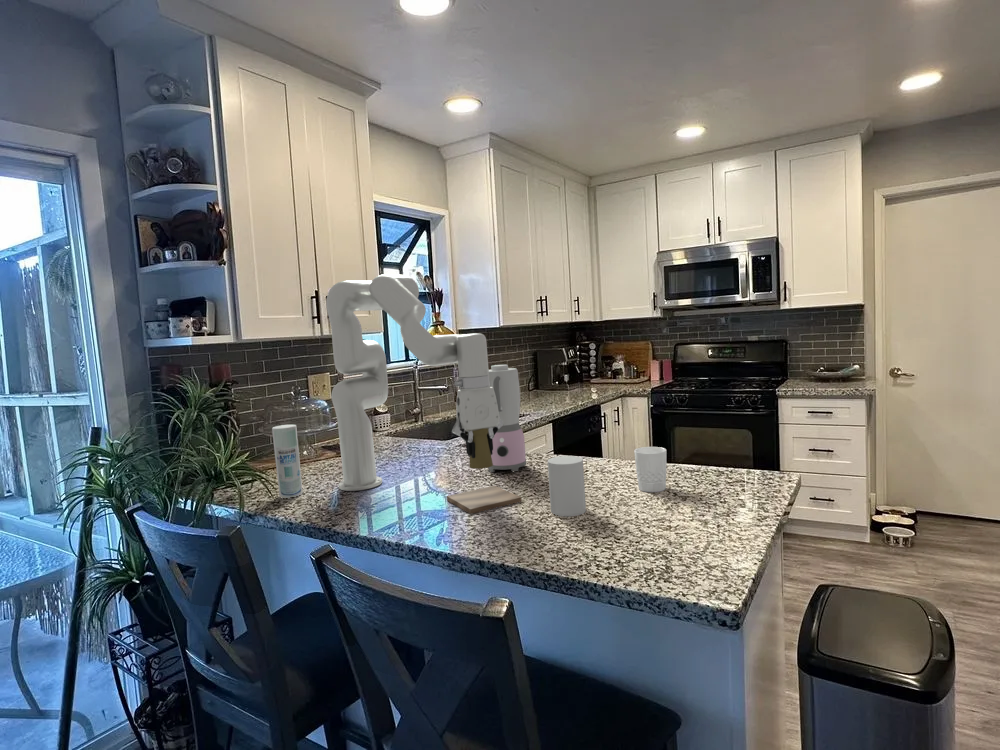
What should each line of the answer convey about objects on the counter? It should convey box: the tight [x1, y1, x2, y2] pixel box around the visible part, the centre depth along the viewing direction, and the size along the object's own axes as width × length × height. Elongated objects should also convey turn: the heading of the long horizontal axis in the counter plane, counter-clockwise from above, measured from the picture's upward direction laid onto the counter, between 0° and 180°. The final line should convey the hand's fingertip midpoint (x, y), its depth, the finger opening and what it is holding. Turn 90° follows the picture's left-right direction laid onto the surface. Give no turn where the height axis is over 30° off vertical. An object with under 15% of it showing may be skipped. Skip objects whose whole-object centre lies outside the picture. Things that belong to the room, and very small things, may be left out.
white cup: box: [633, 446, 667, 493], centre depth 146 cm, size 8×8×10 cm
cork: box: [468, 428, 493, 470], centre depth 144 cm, size 6×6×11 cm
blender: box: [488, 364, 527, 473], centre depth 175 cm, size 16×12×32 cm
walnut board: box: [446, 485, 522, 515], centre depth 145 cm, size 14×14×1 cm
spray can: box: [271, 424, 304, 499], centre depth 164 cm, size 6×6×20 cm
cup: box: [547, 455, 587, 517], centre depth 133 cm, size 8×8×12 cm
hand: (480, 454), depth 144 cm, fingers closed on cork, 4 cm apart
